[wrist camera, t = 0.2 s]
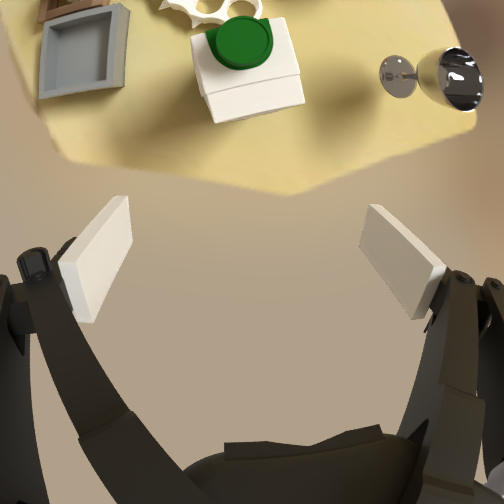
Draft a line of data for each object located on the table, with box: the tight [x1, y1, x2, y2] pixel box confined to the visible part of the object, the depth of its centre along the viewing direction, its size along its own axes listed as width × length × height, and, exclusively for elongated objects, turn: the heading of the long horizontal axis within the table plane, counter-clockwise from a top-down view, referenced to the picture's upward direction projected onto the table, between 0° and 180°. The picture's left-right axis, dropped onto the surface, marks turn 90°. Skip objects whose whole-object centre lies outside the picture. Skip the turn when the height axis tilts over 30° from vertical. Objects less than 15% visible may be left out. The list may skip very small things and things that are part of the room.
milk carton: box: [190, 16, 305, 124], centre depth 27 cm, size 9×9×20 cm
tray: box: [39, 3, 130, 100], centre depth 28 cm, size 12×12×4 cm
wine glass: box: [380, 47, 484, 112], centre depth 29 cm, size 8×8×15 cm
